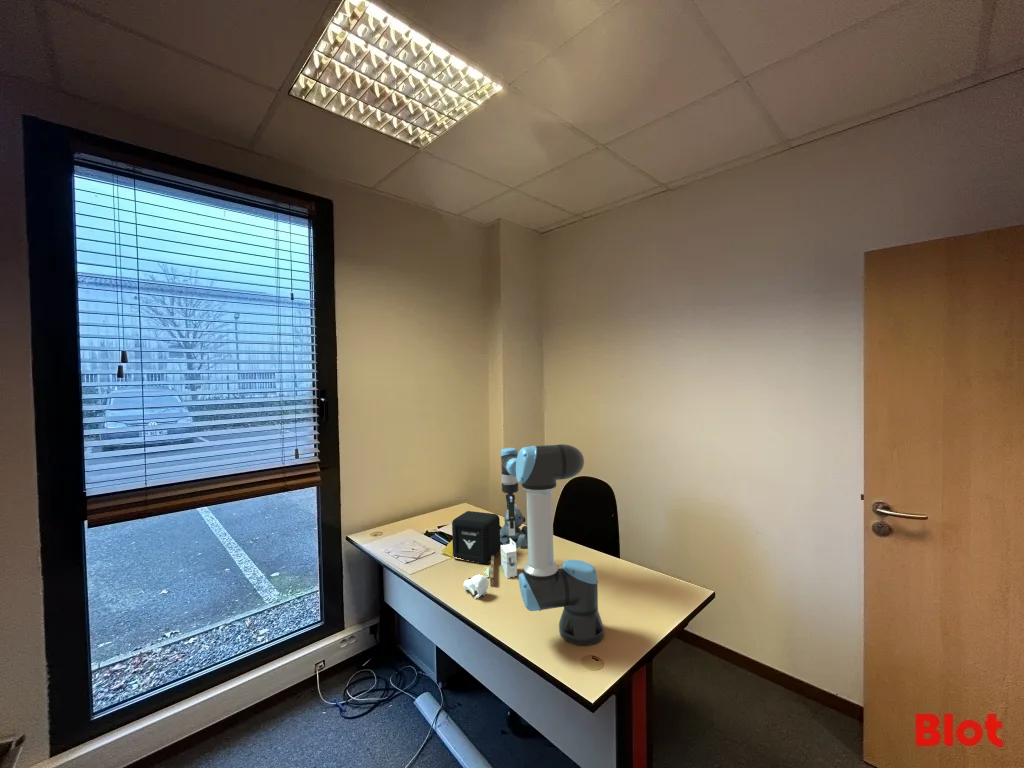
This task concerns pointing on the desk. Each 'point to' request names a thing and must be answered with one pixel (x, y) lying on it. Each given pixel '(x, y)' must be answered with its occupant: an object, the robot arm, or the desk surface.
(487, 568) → the pad
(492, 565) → the rail
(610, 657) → the desk surface
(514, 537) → the koala plush
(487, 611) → the desk surface
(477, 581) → the white lumpy piece
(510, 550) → the ink box
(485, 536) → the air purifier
